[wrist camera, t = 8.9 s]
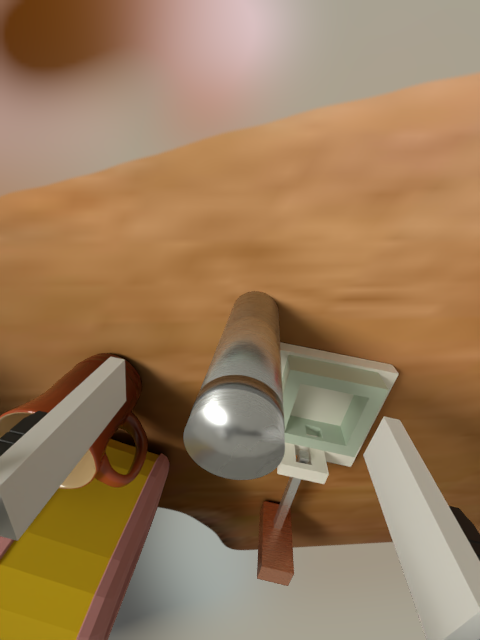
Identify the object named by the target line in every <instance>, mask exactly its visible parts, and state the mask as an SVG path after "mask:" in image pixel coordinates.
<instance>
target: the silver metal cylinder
mask: <svg viewBox="0 0 480 640" xmlns="http://www.w3.org/2000/svg"><path fill="white" fill-rule="evenodd" d="M284 431H285V426H284V409H283V392H282V371H281V350H280V329H279V310H278V306H277V304H276V302H275V301H274V300H273V298H272V297H270V296H269V295H267V294H265V293H263V292H258V291H252V292H248V293H245V294H243V295H242V296H240V297H239V298H238V299H237V300H236V302H235V304H234V306H233V309H232V311H231V314H230V316H229V319H228V321H227V324H226V326H225V329H224V331H223V334H222V336H221V339H220V341H219V344H218V347H217V349H216V352H215V354H214V357H213V359H212V362H211V364H210V367H209V369H208V372H207V374H206V377H205V379H204V382H203V384H202V387H201V389H200V392H199V393H198V396H197V398H196V401H195V403H194V406H193V408H192V411H191V414H190V417H189V419H188V422H187V424H186V427H185V429H184V434H183V440H184V445H185V448H186V450H187V452H188V454H189V455H190V457H191V458H192V459H193V460H194V461H195V462H196V463H197V464H198V465H199V466H200V467H202V468H203V469H205V470H206V471H208V472H210V473H212V474H214V475H217V476H220V477H223V478H228V479H234V480H249V479H255V478H259V477H262V476H264V475H267V474H268V473H270V472H272V471H273V470H274V469H276V468H277V466H278V465H279V464H280V463H281V461H282V459H283V457H284V453H285V435H284Z"/></svg>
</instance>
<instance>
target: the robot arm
mask: <svg viewBox="0 0 480 640" xmlns="http://www.w3.org/2000/svg"><path fill="white" fill-rule="evenodd" d="M125 402H126V380H125V360H124V359H120V358H115V357H110V358H108V359H107V360H106V361H105V362H104V363H103V364H102V365H101V366H100V367H98V368H97V369H96V370H95V371H94V372H93V373H92V374H91V375H90V376H89V377H87V378H86V379H85V380H84V381H83V382H82V383H81V384H80V385H79V386H78V387H76V388H75V389H74V390H73V391H72V392H71V393H70V394H69V395H68V396H66V397H65V398H64V399H63V400H62V401H61V402H60V403H59V404H58V405H57V406H55V407H54V408H53V409H52V410H51V411H50V412H49V413H47V412H43V411H37V412H35V413H33V414H31V415H29V416H27V417H25V418H24V419H22V420H21V421H20V422H19V423H17V424H16V425H15V426H14V427H13V428H11V429H10V431H9V432H7V433H5V434H4V435H3V436H2V437H1V438H0V536H1V537H5V538H9V539H13V540H16V541H18V540H19V538H20V537H21V536H22V535H23V533H24V532H25V531H26V529H27V528H28V527H29V526H30V524H31V523H32V522H33V520H34V519H35V518H36V516H37V515H38V514H39V513H40V511H41V510H42V509H43V507H44V506H45V505H46V504H47V502H48V501H49V500H50V498H51V497H52V496H53V495H54V493H55V492H56V491H57V489H58V488H59V487H60V486H61V484H62V483H63V482H64V480H65V479H66V478H67V476H68V475H69V474H70V473H71V471H72V470H73V469H74V467H75V466H76V465H77V464H78V462H79V461H80V460H81V458H82V457H83V456H84V455H85V453H86V452H87V451H88V449H89V448H90V447H91V446H92V444H93V443H94V442H95V440H96V439H97V438H98V436H99V435H100V434H101V433H102V431H103V430H104V429H105V427H106V426H107V425H108V424H109V422H110V421H111V420H112V418H113V417H114V416H115V415H116V413H117V412H118V411H119V409H120V408H121V407H122V405H123V404H124V403H125ZM363 456H364V458H365V461H366V464H367V467H368V470H369V473H370V476H371V479H372V482H373V485H374V488H375V491H376V494H377V497H378V499H379V502H380V505H381V508H382V511H383V514H384V517H385V520H386V523H387V526H388V529H389V532H390V535H391V538H392V541H393V543H394V546H395V549H396V552H397V555H398V558H399V561H400V564H401V567H402V570H403V573H404V576H405V579H406V581H407V584H408V587H409V590H410V593H411V596H412V599H413V602H414V605H415V608H416V611H417V613H418V617H419V620H420V623H421V626H422V628H423V631H424V634H425V637H426V640H480V534H479V533H478V531H477V529H476V528H475V526H474V525H473V524H472V522H471V521H470V520H469V519H468V518H467V517H466V516H465V515H464V514H463V512H462V511H461V510H460V509H459V508H456V507H451V506H448V504H447V502H446V501H445V499H444V497H443V495H442V494H441V492H440V490H439V488H438V486H437V485H436V483H435V481H434V479H433V478H432V476H431V474H430V472H429V471H428V469H427V467H426V465H425V464H424V462H423V460H422V458H421V456H420V455H419V453H418V451H417V449H416V448H415V446H414V444H413V442H412V441H411V439H410V437H409V435H408V434H407V432H406V430H405V428H404V426H403V425H402V423H401V421H400V420H398V419H393V418H389V417H383V419H382V421H381V423H380V424H379V426H378V428H377V430H376V432H375V434H374V436H373V438H372V439H371V441H370V443H369V445H368V447H367V449H366V451H365V453H364V454H363Z"/></svg>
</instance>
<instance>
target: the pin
mask: <svg viewBox="0 0 480 640" xmlns="http://www.w3.org/2000/svg"><path fill="white" fill-rule="evenodd" d="M296 462H299V463H304V464H308V462H309V454H308V452H306V451H302V450H300V451H299V454H298V457H297V459H296ZM300 481H301V479H299V478H294V477H290V478H289V481H288V483H287V486H286V489H285V491H284V494H283V497H282V499H281V502H280V504H275V503H271V502H266V501H264V502H263V505H262V508H261V511H260V523H259V545H258V569H257V579H261V580H265V581H269V582H274V583H278V584H282V585H286V586H288V585H289V583H290V580H291V578H292V576H293V575H294V567H293V548H292V530H291V511H290V506H291V503H292V501H293V498H294V496H295V494H296V491H297V489H298V486H299V484H300Z"/></svg>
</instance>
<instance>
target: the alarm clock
mask: <svg viewBox="0 0 480 640" xmlns="http://www.w3.org/2000/svg"><path fill="white" fill-rule="evenodd" d="M135 450H136V447H133V446H130V445H127V444H124V443H121V442H118V441H115V440H112V439H110V441H109V443H108V445H107V448H106V455H107V457H108V459H109V462H110V465H111V466H112V468H113V469H114V470H115V471H116V472H118V473H120V474H123V475H126V474H127V473H128V471H129V469H130V467H131V464H132V462H133V459H134V456H135ZM168 472H169V461H168V458H167V457H166V456H165V455H163V454H162V453H161V454H160V455H157V454H154V453H151V452H148V451H147V455H146V459H145V461H144V464H143V466H142V468H141V470H140V472H139V474H138V475H137V477H136V478H135V479H134V480H133V481H132V482H131V483H129V484H128V485H126V486H124V487H120V488H114V487H110V486H108V485H106V484H104V483H102V482H100V481H98V480H97V479H95V478H94V479H93V481H92V482H90V483H89V484H87V485H86V486H84V487H81V488H77V489H61V488H58V489H57V491H56V492H55V493H54V495H53V496H52V497H51V498H50V500H49V501H48V502H47V504H46V505H45V506H44V507H43V509H42V510H41V511H40V513H39V514H38V515H37V516H36V518H35V519H34V520H33V522H32V523H31V524H30V526H29V527H28V528H27V529H26V531H25V532H24V533H23V535H22V536H21V537H20V538H19V540H18V541H16V540H13V539H9V538H5V537H1V536H0V640H108V637H109V635H110V632H111V630H112V627H113V624H114V622H115V619H116V617H117V614H118V611H119V609H120V606H121V603H122V601H123V598H124V596H125V593H126V590H127V588H128V585H129V582H130V580H131V577H132V575H133V572H134V569H135V567H136V564H137V562H138V559H139V556H140V554H141V551H142V548H143V546H144V543H145V540H146V538H147V535H148V532H149V529H150V527H151V524H152V521H153V518H154V515H155V512H156V510H157V507H158V503H159V500H160V497H161V494H162V491H163V488H164V485H165V482H166V478H167V475H168Z"/></svg>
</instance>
